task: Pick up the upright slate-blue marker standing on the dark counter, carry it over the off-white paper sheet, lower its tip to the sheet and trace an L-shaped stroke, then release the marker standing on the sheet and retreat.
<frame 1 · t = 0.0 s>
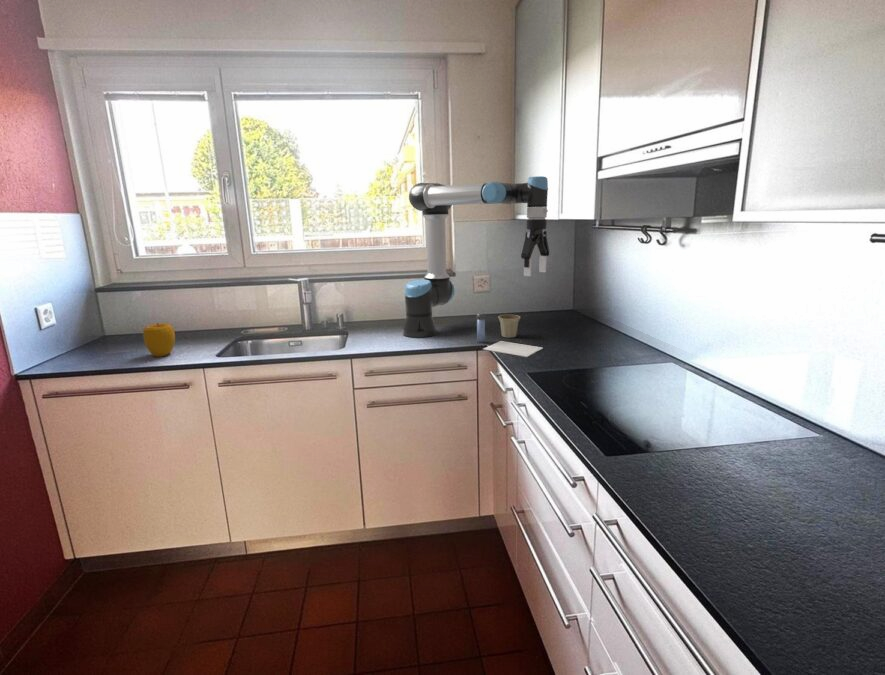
hand: (535, 274, 190), 28 cm above the worktop, fingers open, 13 cm apart
apple: (163, 355, 189), on the worktop
paper: (513, 348, 187), on the worktop
marker: (480, 342, 198), on the worktop
flower pot: (509, 336, 207), on the worktop
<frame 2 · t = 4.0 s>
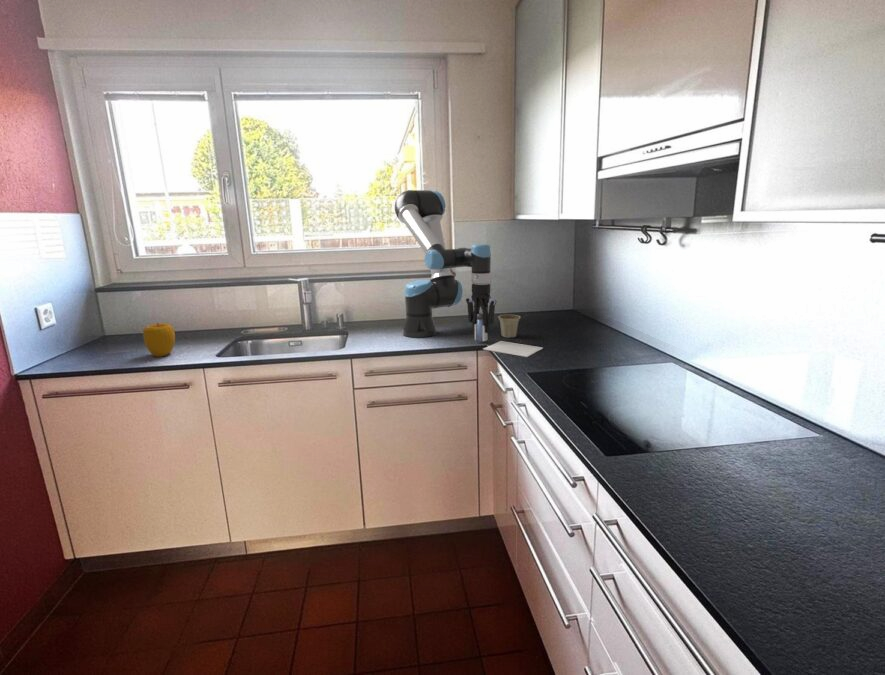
hand: (480, 339, 198), 1 cm above the worktop, fingers closed on marker, 3 cm apart
marker: (480, 342, 198), on the worktop, touching gripper
everything else where it was.
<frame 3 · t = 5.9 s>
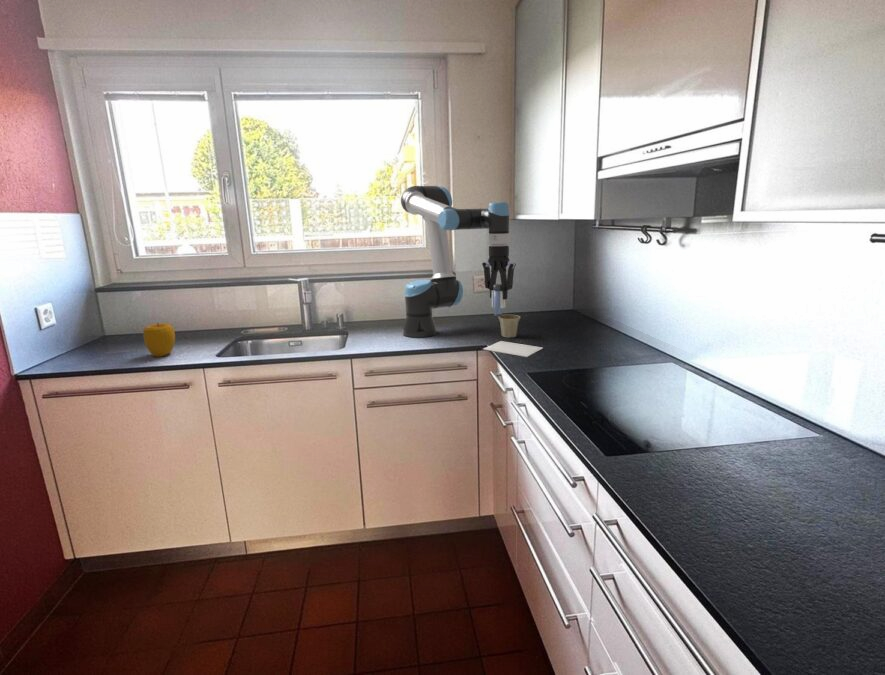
hand: (498, 307, 184), 17 cm above the worktop, fingers closed on marker, 3 cm apart
marker: (498, 315, 184), point 13 cm above the worktop, touching gripper
everything else where it was.
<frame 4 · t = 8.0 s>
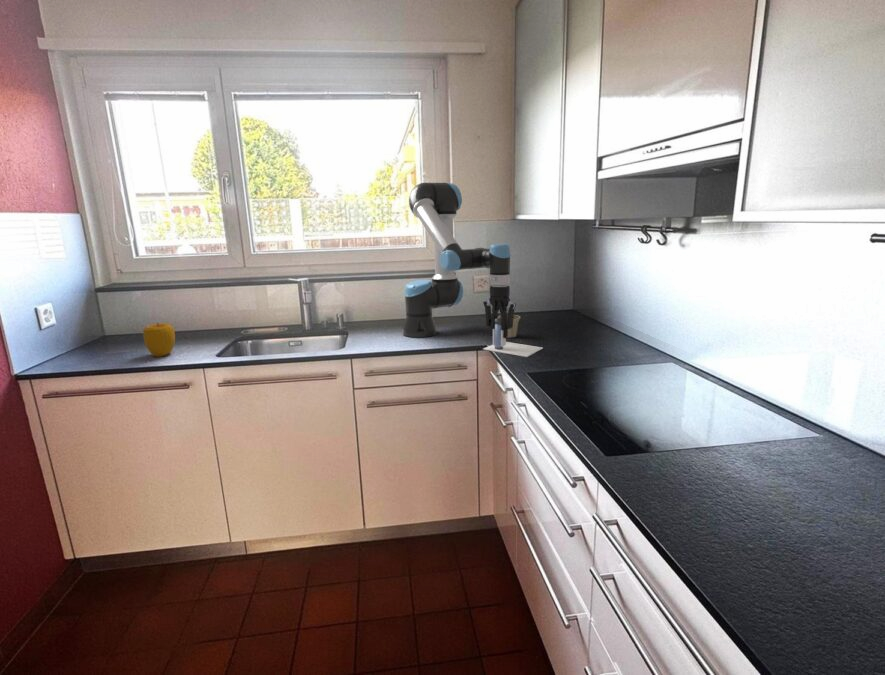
hand: (499, 344, 187), 2 cm above the worktop, fingers closed on marker, 3 cm apart
marker: (498, 348, 187), resting on paper, touching gripper
everything else where it was.
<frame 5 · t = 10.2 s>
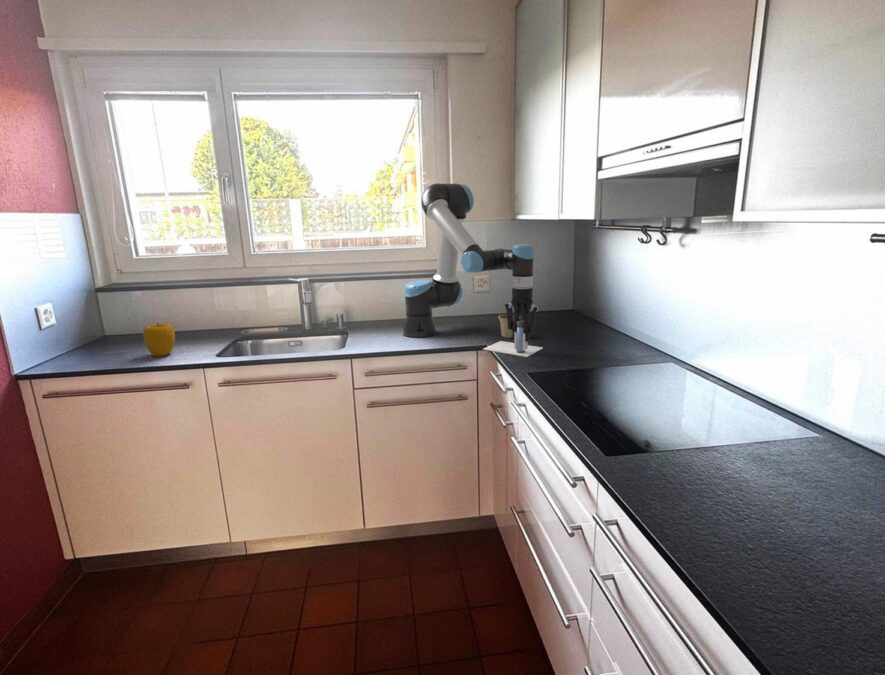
hand: (520, 348, 182), 2 cm above the worktop, fingers closed on marker, 3 cm apart
marker: (520, 352, 182), resting on paper, touching gripper
everything else where it was.
when the fingers open (2 cm above the worktop, at t = 12.1 s): marker stays where it is, resting on paper.
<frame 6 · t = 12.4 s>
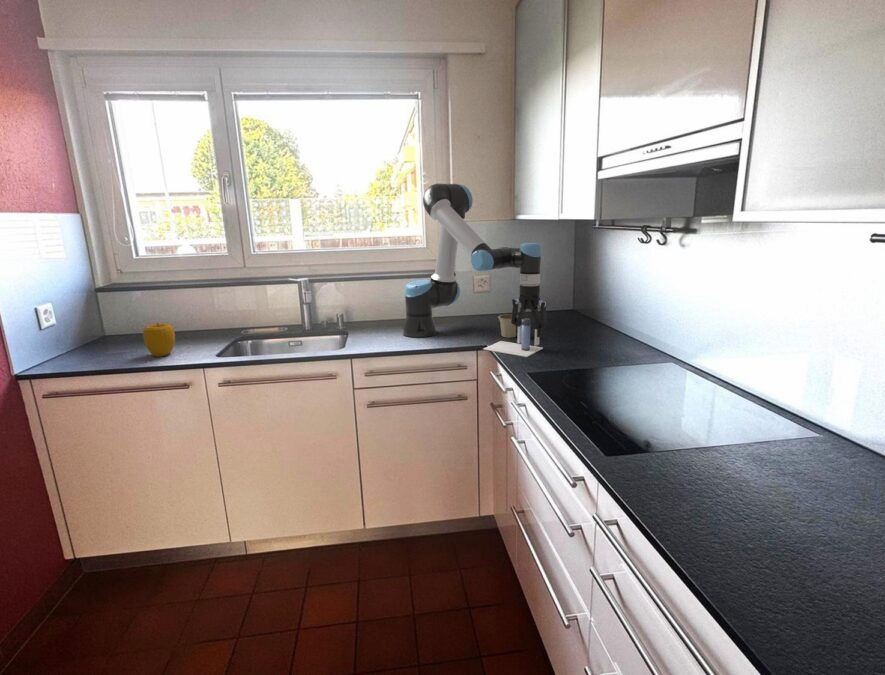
hand: (528, 343, 186), 2 cm above the worktop, fingers open, 7 cm apart
marker: (525, 349, 185), resting on paper
everything else where it was.
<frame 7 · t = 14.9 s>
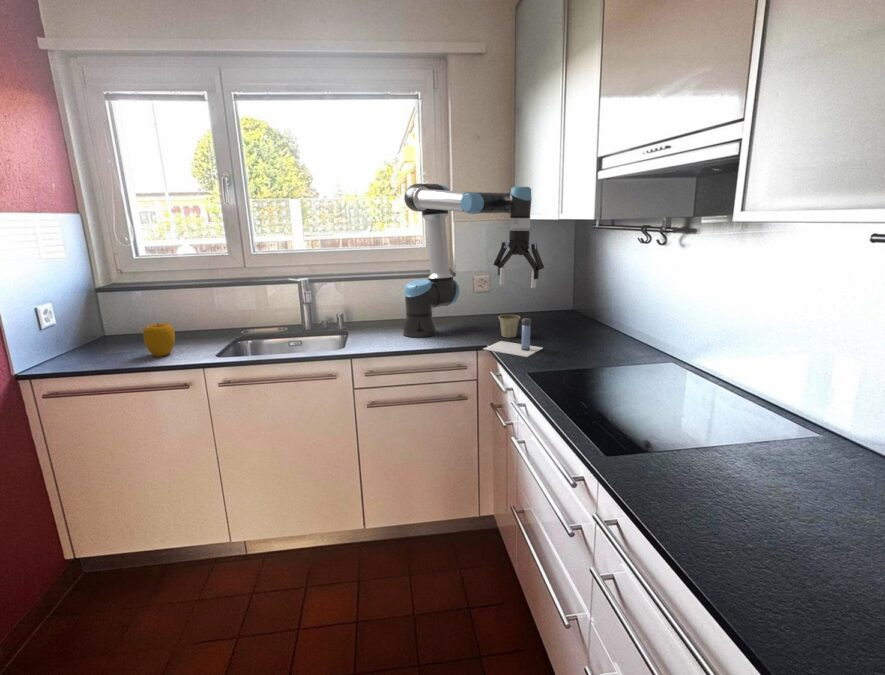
hand: (517, 285, 185), 24 cm above the worktop, fingers open, 13 cm apart
nothing on the worktop moved.
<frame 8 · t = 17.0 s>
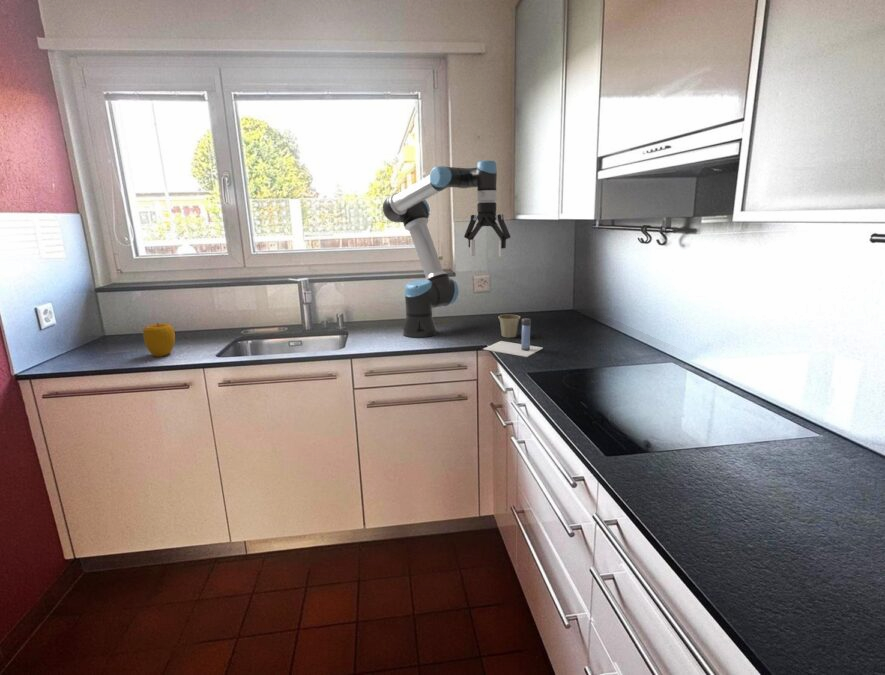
hand: (486, 256, 195), 35 cm above the worktop, fingers open, 13 cm apart
nothing on the worktop moved.
at the end: the gripper is holding nothing; marker inside the target area (4.8 cm from its centre), resting on paper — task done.
